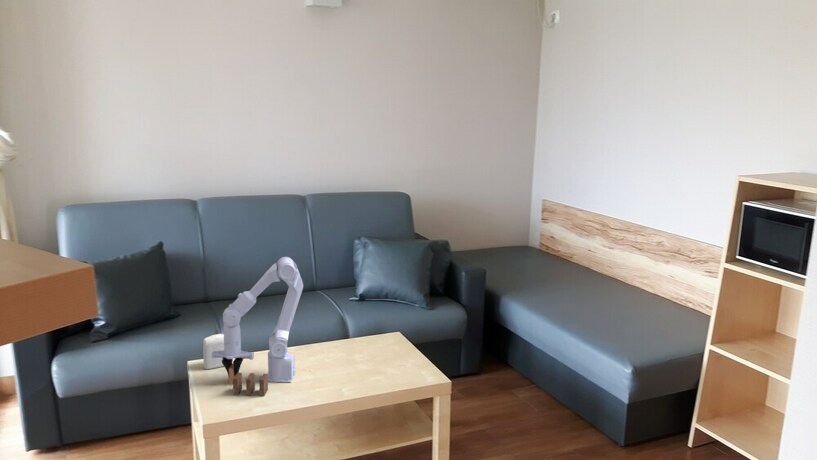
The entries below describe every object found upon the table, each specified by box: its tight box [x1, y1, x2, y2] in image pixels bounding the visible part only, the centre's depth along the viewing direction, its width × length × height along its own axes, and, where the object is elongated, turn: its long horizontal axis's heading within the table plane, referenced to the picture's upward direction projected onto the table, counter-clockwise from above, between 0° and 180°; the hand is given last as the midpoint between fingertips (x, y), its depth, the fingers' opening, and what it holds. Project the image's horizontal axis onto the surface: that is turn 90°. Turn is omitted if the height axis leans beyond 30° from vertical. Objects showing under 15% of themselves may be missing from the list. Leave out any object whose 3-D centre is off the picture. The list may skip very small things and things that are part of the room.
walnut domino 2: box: [245, 372, 256, 397], centre depth 211 cm, size 2×5×6 cm, turn 178°
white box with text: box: [202, 333, 224, 370], centre depth 231 cm, size 10×4×12 cm, turn 123°
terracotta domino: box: [228, 363, 235, 386], centre depth 219 cm, size 2×5×6 cm, turn 178°
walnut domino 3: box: [258, 373, 269, 397], centre depth 211 cm, size 2×5×6 cm, turn 178°
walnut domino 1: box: [232, 372, 243, 396], centre depth 212 cm, size 2×5×6 cm, turn 178°
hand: (233, 377), depth 220 cm, fingers closed on terracotta domino, 1 cm apart
